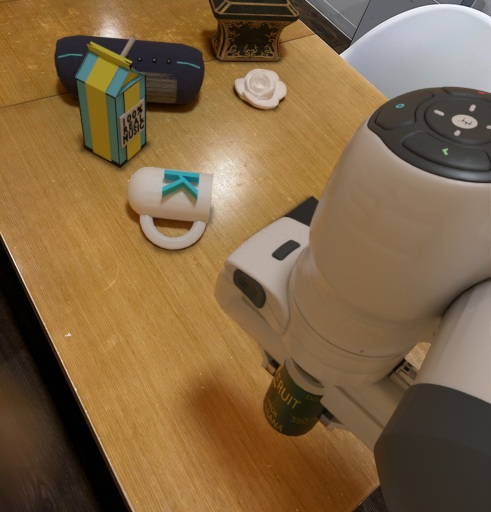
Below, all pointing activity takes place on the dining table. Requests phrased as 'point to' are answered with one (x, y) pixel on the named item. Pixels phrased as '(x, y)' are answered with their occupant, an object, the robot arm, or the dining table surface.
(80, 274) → the dining table surface
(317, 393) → the beer can
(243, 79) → the rose
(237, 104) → the dining table surface
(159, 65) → the portable speaker
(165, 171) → the mug
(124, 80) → the carton
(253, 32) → the decorative box
